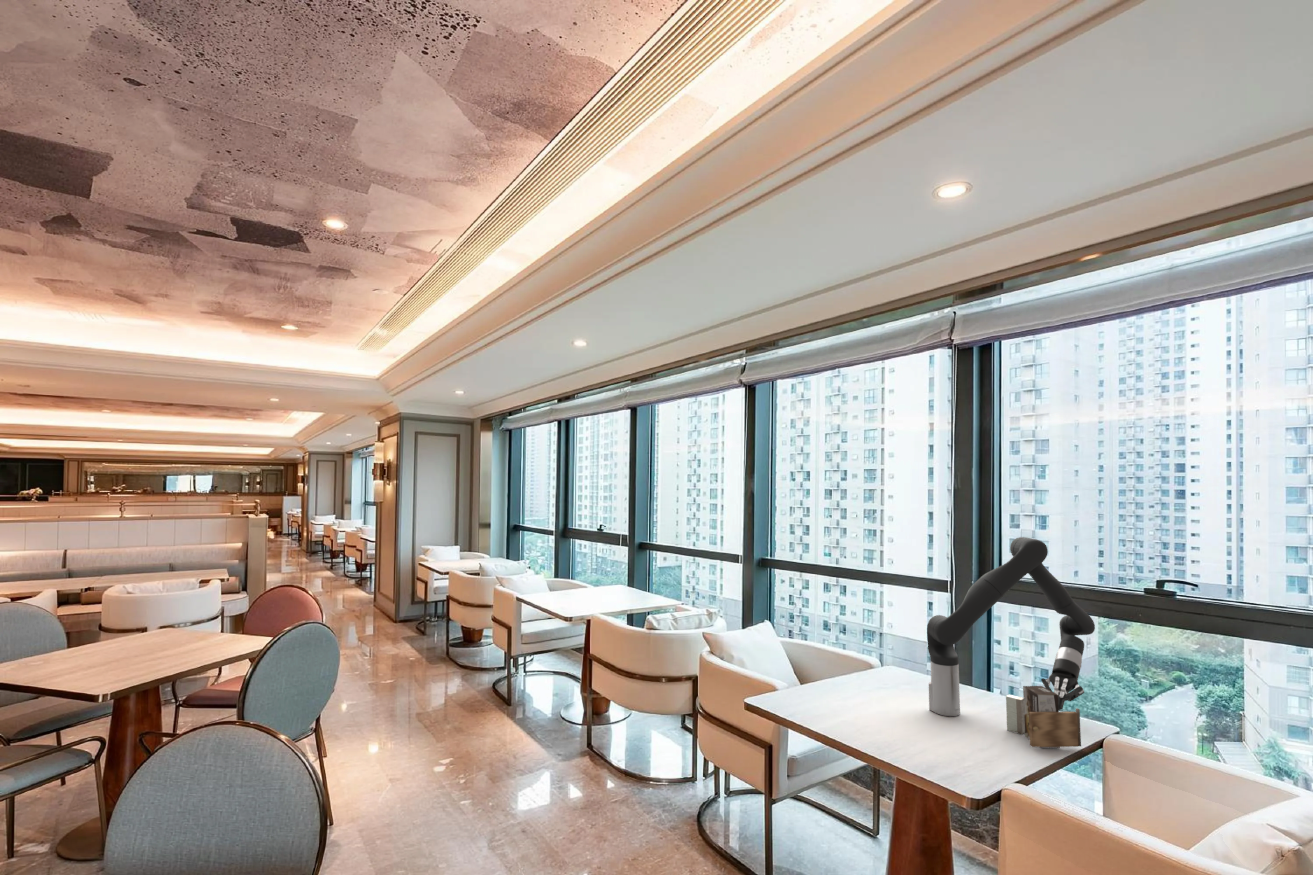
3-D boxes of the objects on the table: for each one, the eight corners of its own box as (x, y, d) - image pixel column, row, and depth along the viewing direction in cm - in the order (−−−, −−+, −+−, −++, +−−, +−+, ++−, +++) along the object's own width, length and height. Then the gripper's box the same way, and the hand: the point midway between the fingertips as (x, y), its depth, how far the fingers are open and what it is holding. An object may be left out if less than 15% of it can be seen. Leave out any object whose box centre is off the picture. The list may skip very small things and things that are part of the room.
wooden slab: (1034, 748, 192) (1033, 711, 193) (1029, 745, 194) (1028, 708, 195) (1084, 748, 192) (1083, 710, 193) (1079, 744, 195) (1077, 708, 195)
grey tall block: (1006, 730, 208) (1005, 696, 209) (1010, 728, 210) (1009, 694, 211) (1022, 734, 205) (1021, 699, 205) (1025, 732, 207) (1024, 697, 207)
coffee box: (1061, 748, 194) (1059, 694, 195) (1039, 747, 195) (1037, 694, 196) (1044, 736, 203) (1042, 685, 204) (1024, 736, 204) (1022, 684, 205)
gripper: (1043, 653, 222) (1031, 697, 213) (1086, 661, 212) (1076, 707, 203) (1049, 666, 225) (1038, 709, 217) (1092, 674, 215) (1082, 720, 206)
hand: (1056, 708), depth 210 cm, fingers closed
